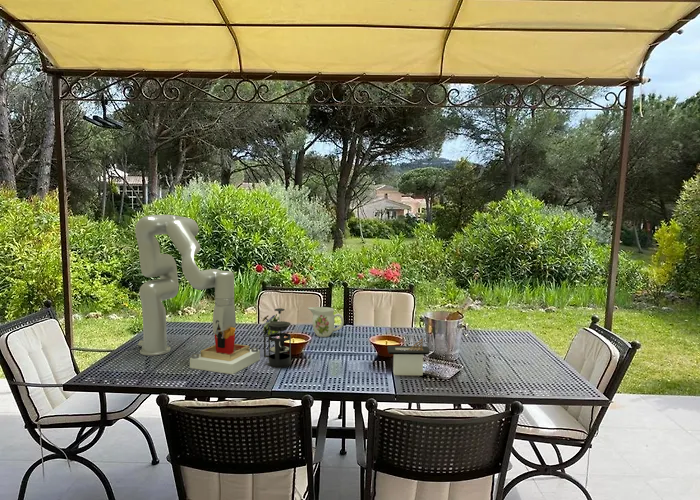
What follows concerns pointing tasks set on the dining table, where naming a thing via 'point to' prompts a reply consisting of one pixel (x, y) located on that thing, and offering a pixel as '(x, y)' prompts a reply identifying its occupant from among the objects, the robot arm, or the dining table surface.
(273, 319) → the passion flower
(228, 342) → the french fries
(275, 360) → the french press
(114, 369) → the dining table surface
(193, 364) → the gold-rimmed square tray
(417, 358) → the dark-capped white block
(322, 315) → the pitcher
